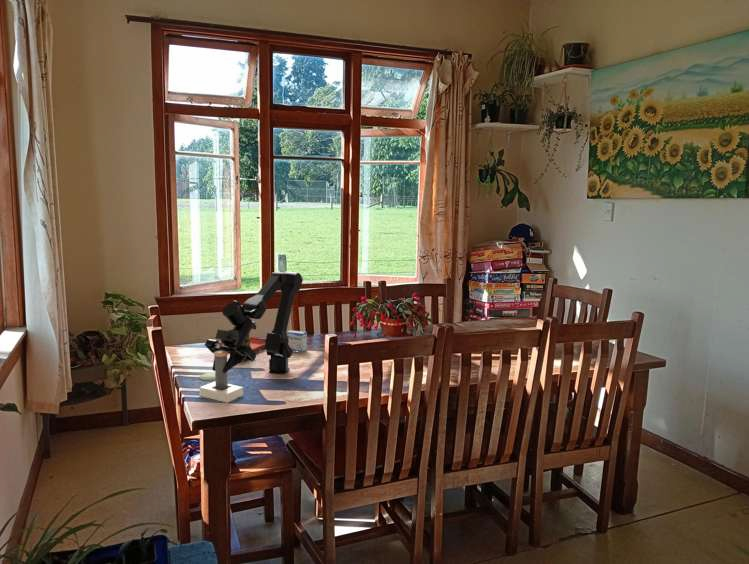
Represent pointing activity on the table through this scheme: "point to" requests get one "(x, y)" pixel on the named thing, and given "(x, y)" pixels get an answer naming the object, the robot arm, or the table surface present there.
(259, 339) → the plant saucer
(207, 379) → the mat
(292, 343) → the medicine box
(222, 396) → the square frame
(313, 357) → the table surface
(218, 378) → the plug
